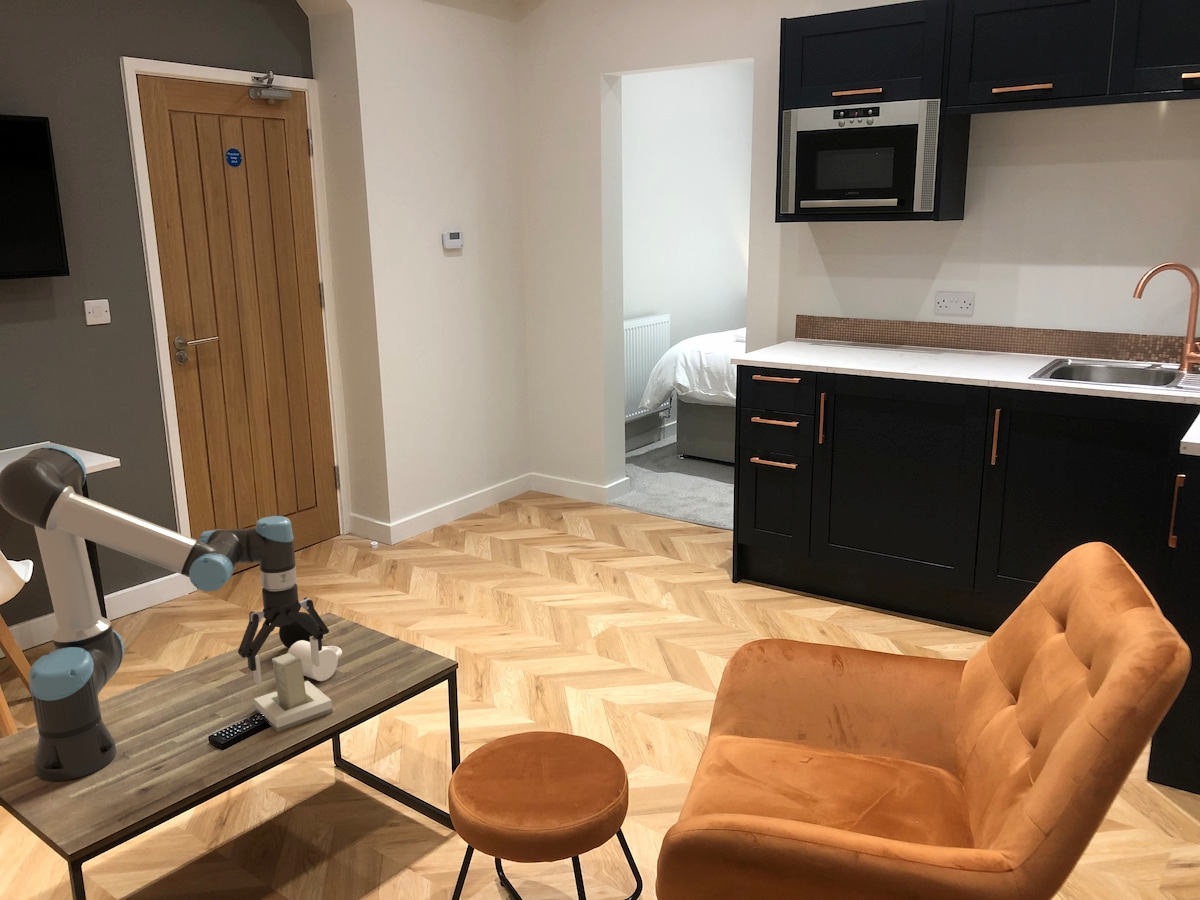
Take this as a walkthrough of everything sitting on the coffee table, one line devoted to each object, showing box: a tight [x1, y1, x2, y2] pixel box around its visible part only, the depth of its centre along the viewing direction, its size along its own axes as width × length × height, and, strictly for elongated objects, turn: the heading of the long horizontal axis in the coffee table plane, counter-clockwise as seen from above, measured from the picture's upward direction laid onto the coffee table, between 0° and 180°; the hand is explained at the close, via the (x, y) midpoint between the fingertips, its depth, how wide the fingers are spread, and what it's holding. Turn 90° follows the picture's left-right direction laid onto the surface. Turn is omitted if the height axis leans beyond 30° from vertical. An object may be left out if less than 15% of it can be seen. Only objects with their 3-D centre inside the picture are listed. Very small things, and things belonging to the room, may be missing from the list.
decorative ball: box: [278, 611, 319, 649], centre depth 255 cm, size 10×10×10 cm
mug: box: [287, 640, 343, 682], centre depth 242 cm, size 12×10×8 cm
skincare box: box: [271, 653, 307, 711], centre depth 222 cm, size 6×4×12 cm
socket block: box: [253, 680, 334, 733], centre depth 223 cm, size 13×13×3 cm
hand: (287, 673), depth 221 cm, fingers open, 13 cm apart
